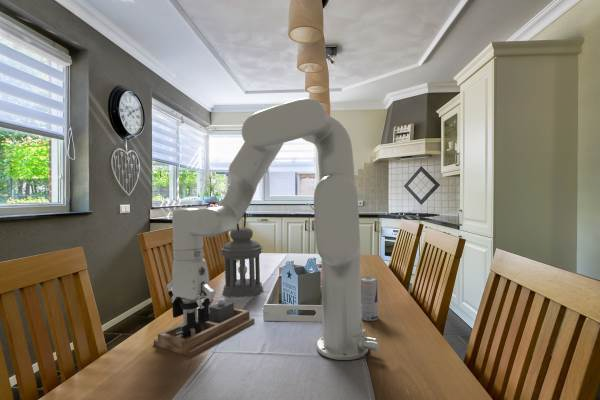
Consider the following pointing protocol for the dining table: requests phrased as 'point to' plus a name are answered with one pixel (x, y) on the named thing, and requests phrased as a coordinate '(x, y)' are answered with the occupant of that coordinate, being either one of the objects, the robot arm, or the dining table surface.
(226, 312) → the plug block
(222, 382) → the dining table surface
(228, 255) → the lantern
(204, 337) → the brown wooden divided tray
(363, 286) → the energy drink
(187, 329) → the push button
